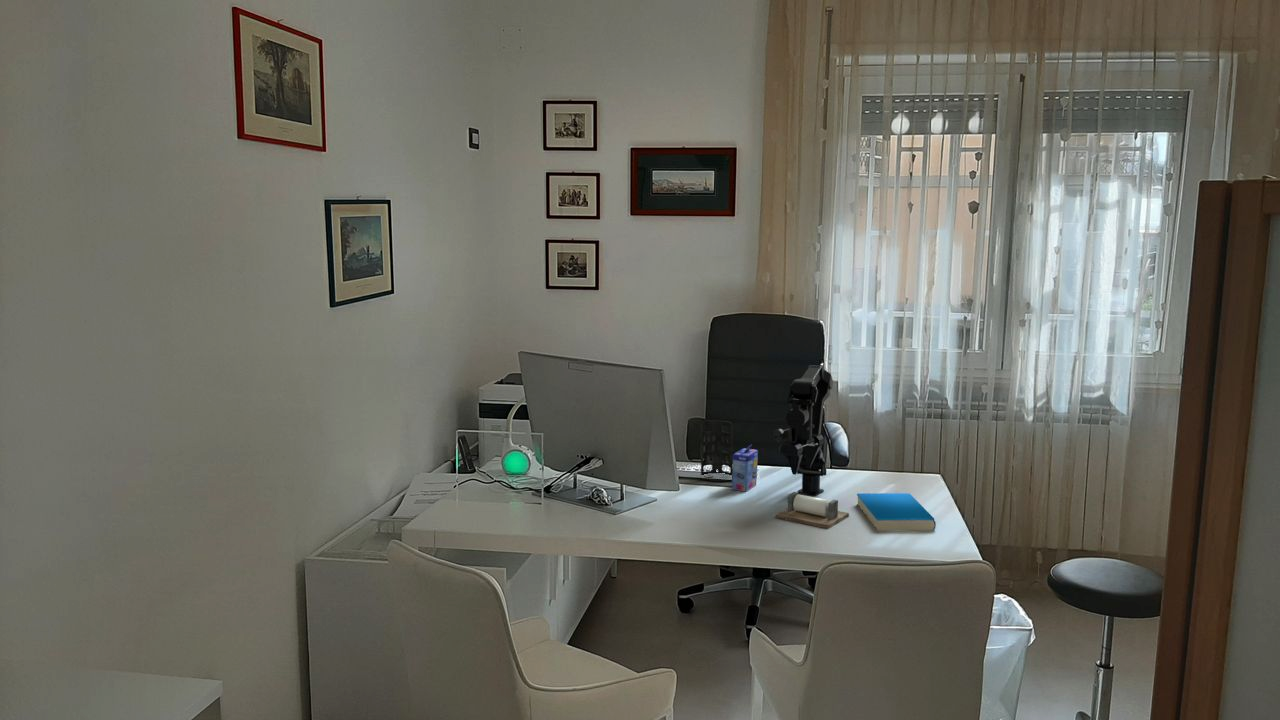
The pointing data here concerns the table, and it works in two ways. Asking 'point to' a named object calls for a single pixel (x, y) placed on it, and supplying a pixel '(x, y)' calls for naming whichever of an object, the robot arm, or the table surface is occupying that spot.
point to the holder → (716, 447)
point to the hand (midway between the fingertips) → (801, 471)
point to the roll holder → (812, 519)
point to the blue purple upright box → (744, 469)
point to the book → (895, 511)
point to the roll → (811, 505)
